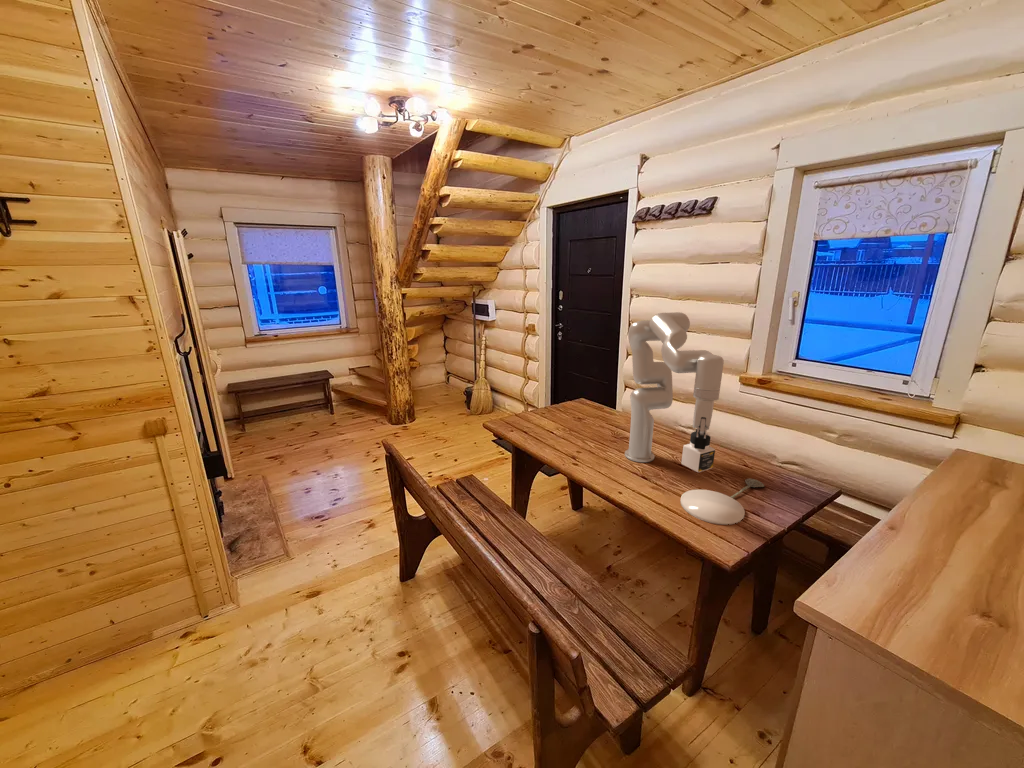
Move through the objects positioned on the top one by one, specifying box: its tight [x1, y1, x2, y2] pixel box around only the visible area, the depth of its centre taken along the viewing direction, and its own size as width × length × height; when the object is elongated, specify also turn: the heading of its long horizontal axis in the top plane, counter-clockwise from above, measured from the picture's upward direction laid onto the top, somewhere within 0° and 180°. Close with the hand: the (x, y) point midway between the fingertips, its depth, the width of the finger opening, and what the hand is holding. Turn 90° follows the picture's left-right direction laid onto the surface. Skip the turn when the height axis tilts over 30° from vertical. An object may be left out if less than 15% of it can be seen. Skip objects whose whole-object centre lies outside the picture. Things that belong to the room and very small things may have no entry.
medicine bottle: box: [680, 430, 716, 473], centre depth 135 cm, size 7×7×12 cm
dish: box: [680, 489, 746, 526], centre depth 140 cm, size 20×20×1 cm
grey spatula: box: [730, 478, 765, 499], centre depth 151 cm, size 22×3×7 cm
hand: (699, 444), depth 135 cm, fingers closed on medicine bottle, 6 cm apart
